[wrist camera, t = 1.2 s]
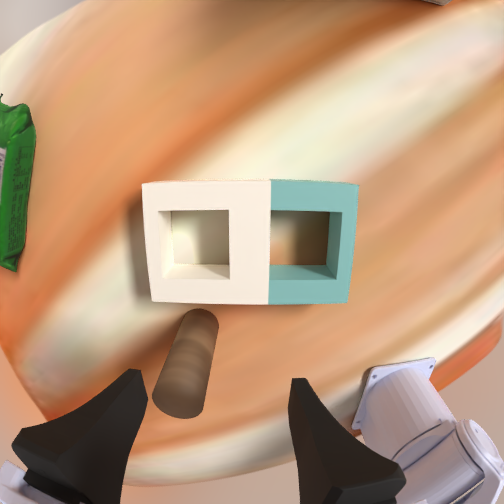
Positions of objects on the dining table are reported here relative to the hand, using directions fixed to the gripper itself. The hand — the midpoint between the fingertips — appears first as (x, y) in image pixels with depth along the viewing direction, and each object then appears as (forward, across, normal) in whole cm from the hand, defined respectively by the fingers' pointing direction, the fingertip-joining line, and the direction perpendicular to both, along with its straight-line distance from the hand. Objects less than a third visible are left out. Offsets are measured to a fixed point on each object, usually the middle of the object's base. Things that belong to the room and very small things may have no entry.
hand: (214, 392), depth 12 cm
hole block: (+10, -2, -5) cm, 12 cm away
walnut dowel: (+10, +2, +2) cm, 11 cm away
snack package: (+11, +21, -10) cm, 26 cm away
